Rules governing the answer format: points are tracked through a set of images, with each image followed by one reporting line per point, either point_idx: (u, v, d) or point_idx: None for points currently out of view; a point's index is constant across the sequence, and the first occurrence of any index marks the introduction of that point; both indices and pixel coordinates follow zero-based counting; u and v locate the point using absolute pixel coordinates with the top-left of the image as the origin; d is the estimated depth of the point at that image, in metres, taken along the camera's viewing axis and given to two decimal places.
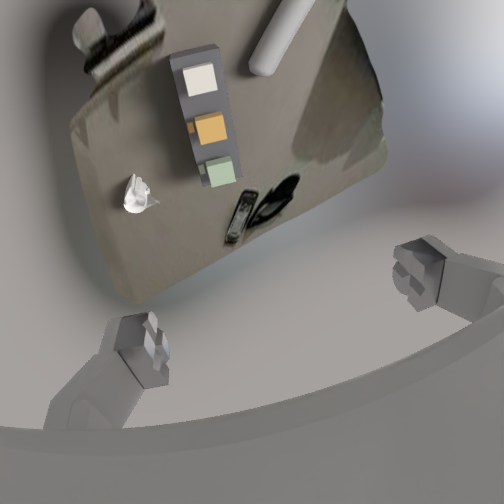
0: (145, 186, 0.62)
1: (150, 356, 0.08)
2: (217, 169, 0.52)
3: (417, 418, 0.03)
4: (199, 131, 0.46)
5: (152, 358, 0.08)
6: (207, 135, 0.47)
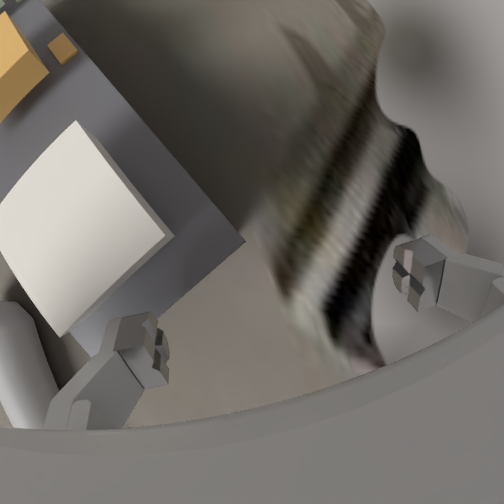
0: None
1: (150, 356, 0.08)
2: None
3: (417, 418, 0.03)
4: (11, 35, 0.06)
5: (152, 358, 0.08)
6: None
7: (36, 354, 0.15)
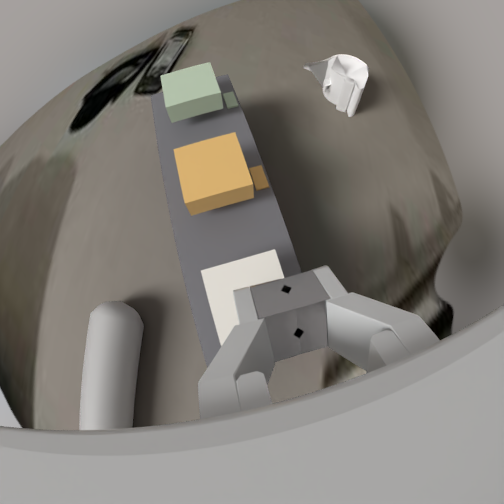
0: (329, 95, 0.33)
1: (296, 321, 0.08)
2: (197, 90, 0.22)
3: (417, 418, 0.03)
4: (240, 161, 0.20)
5: (297, 324, 0.08)
6: (220, 153, 0.20)
7: (136, 349, 0.25)
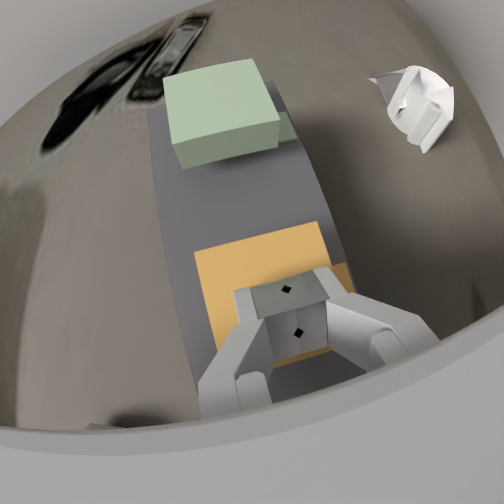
0: (398, 120, 0.23)
1: (296, 321, 0.08)
2: (233, 110, 0.12)
3: (417, 418, 0.03)
4: None
5: (297, 323, 0.08)
6: (291, 270, 0.10)
7: None
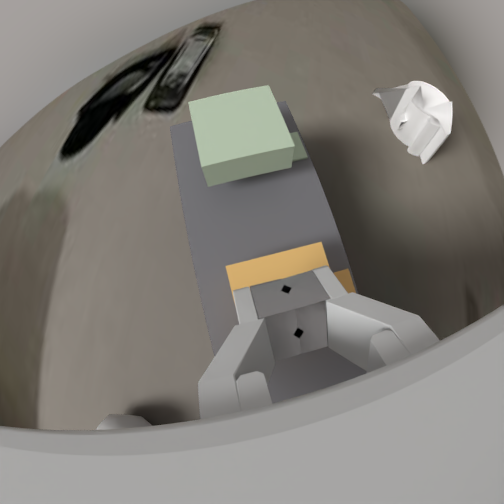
0: (400, 132, 0.25)
1: (296, 321, 0.08)
2: (254, 136, 0.14)
3: (417, 418, 0.03)
4: None
5: (297, 324, 0.08)
6: None
7: None
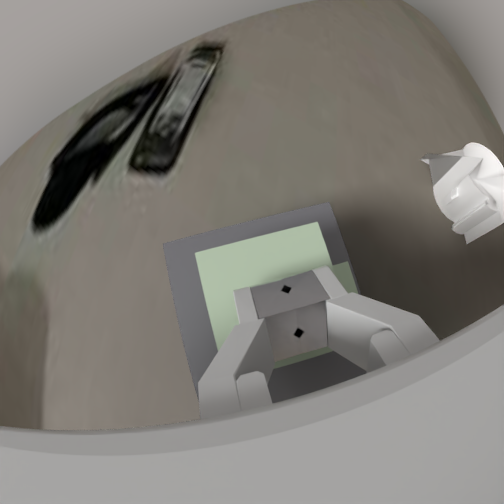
0: (446, 206, 0.21)
1: (296, 321, 0.08)
2: None
3: (417, 418, 0.03)
4: None
5: (297, 324, 0.08)
6: None
7: None
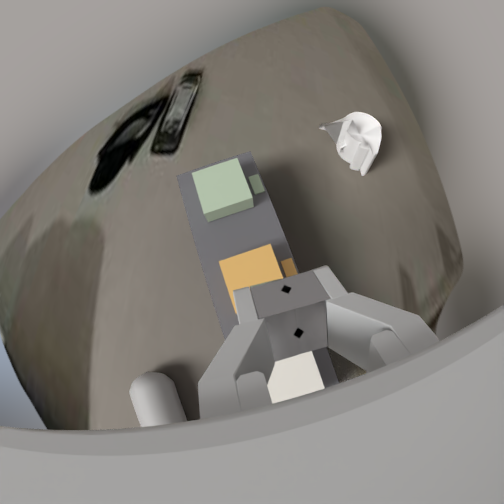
0: (343, 154, 0.37)
1: (296, 321, 0.08)
2: (230, 193, 0.27)
3: (417, 418, 0.03)
4: (277, 273, 0.25)
5: (297, 324, 0.08)
6: (260, 265, 0.25)
7: (177, 401, 0.29)
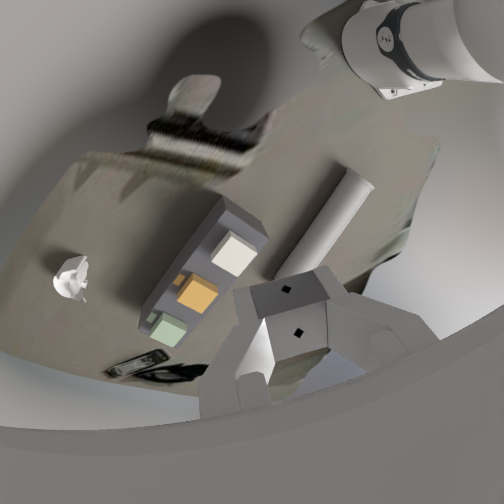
0: (85, 276, 0.49)
1: (296, 321, 0.08)
2: (168, 328, 0.47)
3: (417, 418, 0.03)
4: (187, 290, 0.44)
5: (297, 324, 0.08)
6: (189, 298, 0.45)
7: (282, 269, 0.54)
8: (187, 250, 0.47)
